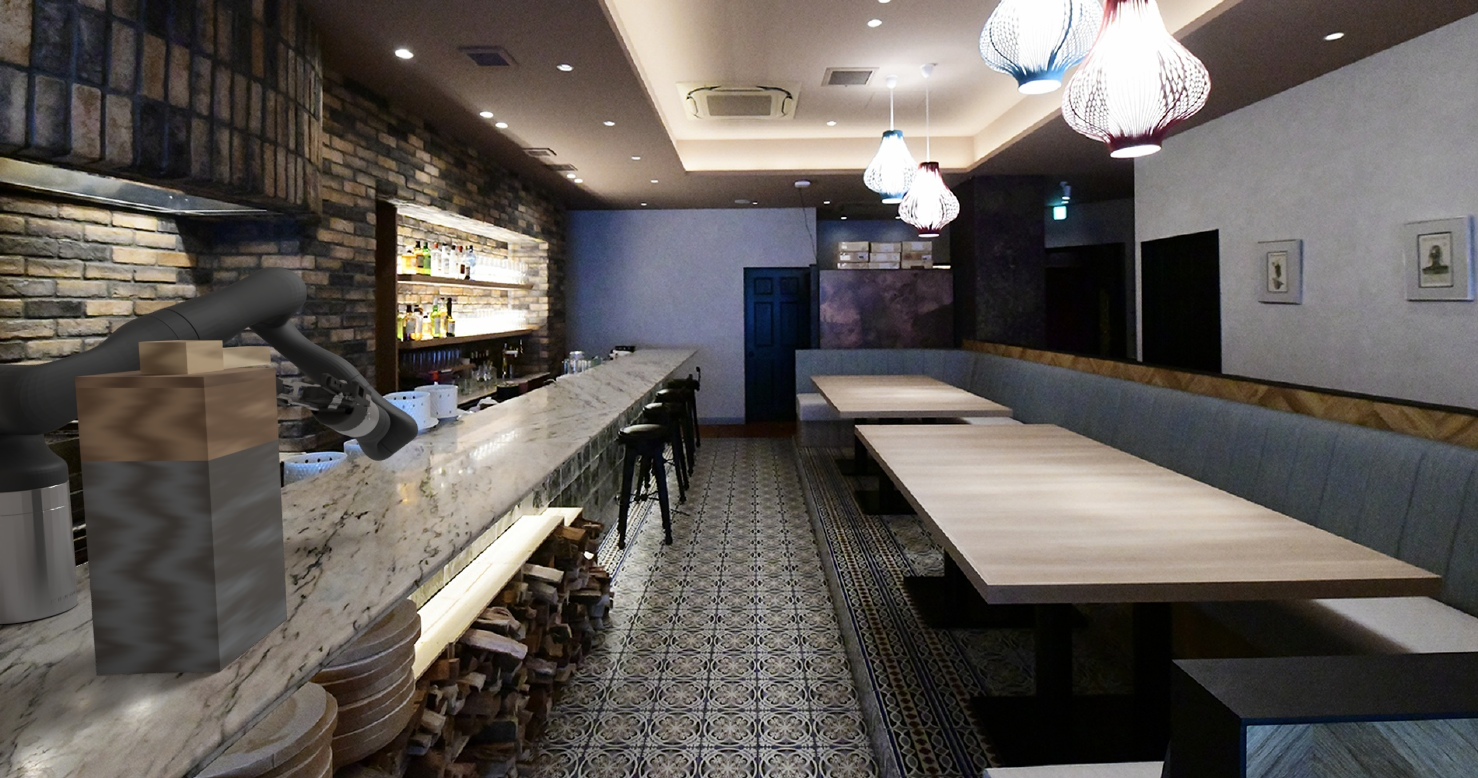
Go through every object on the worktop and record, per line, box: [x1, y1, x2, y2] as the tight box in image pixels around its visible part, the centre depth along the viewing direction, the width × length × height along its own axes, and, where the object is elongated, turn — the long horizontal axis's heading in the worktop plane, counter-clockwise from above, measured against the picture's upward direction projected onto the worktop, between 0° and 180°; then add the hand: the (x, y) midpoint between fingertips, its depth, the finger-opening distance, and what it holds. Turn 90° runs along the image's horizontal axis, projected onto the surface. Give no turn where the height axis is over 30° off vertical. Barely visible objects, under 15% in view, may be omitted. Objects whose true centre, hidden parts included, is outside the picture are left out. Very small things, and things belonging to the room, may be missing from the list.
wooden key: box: [139, 340, 272, 374], centre depth 95 cm, size 5×20×4 cm, turn 5°
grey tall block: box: [75, 367, 288, 676], centre depth 91 cm, size 13×15×33 cm
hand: (294, 379), depth 113 cm, fingers open, 8 cm apart
